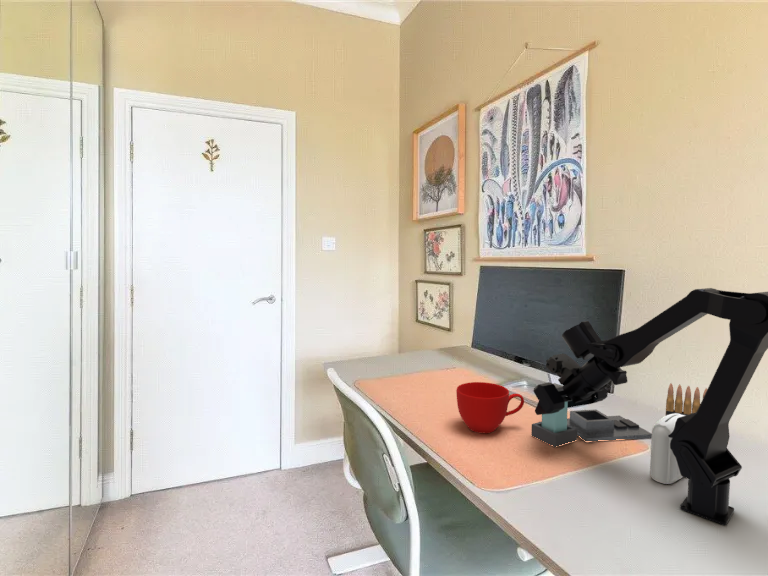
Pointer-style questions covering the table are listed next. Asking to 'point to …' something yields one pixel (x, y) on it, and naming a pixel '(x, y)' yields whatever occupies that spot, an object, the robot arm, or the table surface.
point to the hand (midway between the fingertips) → (550, 409)
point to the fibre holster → (554, 435)
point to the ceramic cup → (484, 405)
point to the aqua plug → (556, 417)
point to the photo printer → (664, 451)
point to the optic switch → (604, 426)
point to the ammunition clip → (679, 405)
